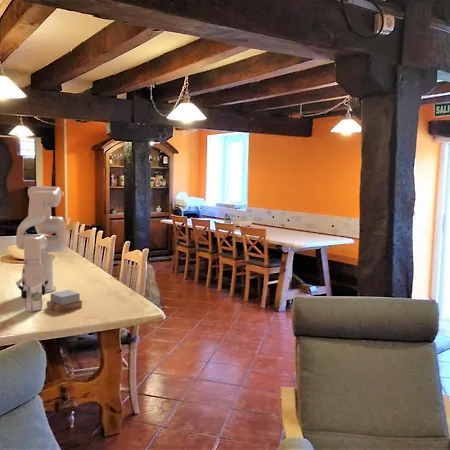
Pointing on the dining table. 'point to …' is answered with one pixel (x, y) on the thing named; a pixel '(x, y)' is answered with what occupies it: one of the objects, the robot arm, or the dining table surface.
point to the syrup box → (34, 298)
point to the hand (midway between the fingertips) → (33, 296)
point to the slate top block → (65, 297)
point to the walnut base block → (64, 306)
